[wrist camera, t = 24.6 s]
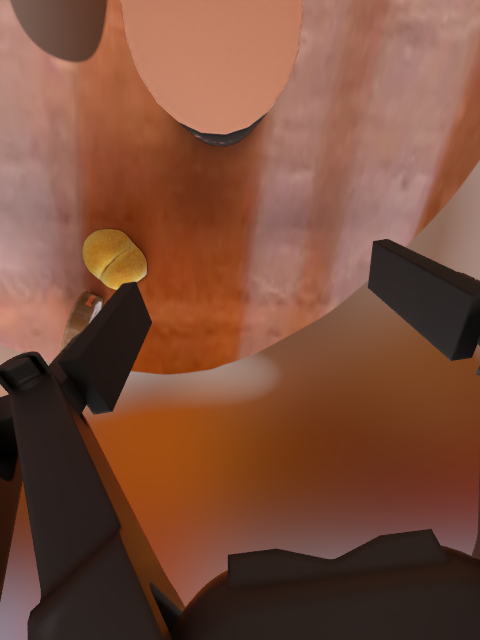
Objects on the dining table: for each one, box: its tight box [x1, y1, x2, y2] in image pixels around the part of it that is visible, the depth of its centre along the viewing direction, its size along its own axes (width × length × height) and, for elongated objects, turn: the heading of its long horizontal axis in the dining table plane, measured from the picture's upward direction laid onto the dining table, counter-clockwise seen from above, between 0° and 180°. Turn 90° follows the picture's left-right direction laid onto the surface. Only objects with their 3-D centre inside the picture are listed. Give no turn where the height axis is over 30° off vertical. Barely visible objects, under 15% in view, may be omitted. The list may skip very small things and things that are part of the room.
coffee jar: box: [121, 0, 303, 146], centre depth 23 cm, size 11×11×18 cm
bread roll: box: [82, 229, 147, 289], centre depth 39 cm, size 8×9×4 cm
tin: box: [60, 291, 103, 353], centre depth 42 cm, size 15×3×8 cm, turn 153°
